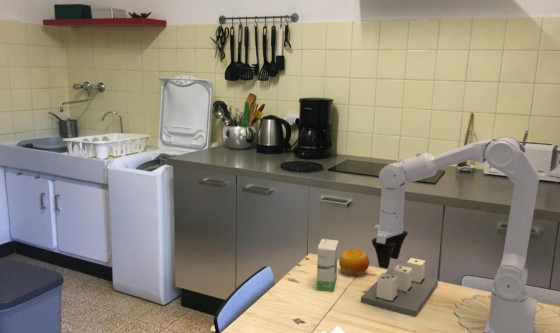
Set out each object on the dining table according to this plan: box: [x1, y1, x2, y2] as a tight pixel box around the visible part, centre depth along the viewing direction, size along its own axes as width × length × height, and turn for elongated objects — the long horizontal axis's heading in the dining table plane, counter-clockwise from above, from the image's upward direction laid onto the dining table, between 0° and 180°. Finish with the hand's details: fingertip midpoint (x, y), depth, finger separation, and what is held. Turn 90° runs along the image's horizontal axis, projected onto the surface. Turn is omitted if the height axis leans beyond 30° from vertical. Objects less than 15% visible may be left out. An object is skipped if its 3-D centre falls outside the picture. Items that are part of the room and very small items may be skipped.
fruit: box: [338, 248, 370, 276], centre depth 139 cm, size 8×8×8 cm
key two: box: [392, 264, 412, 292], centre depth 125 cm, size 4×4×5 cm
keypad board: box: [360, 268, 439, 318], centre depth 126 cm, size 14×22×2 cm, turn 149°
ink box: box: [316, 238, 339, 292], centre depth 130 cm, size 9×5×12 cm, turn 168°
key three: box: [376, 272, 398, 302], centre depth 120 cm, size 4×4×5 cm
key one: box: [406, 257, 426, 284], centre depth 131 cm, size 4×4×5 cm
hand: (388, 262), depth 120 cm, fingers open, 7 cm apart
